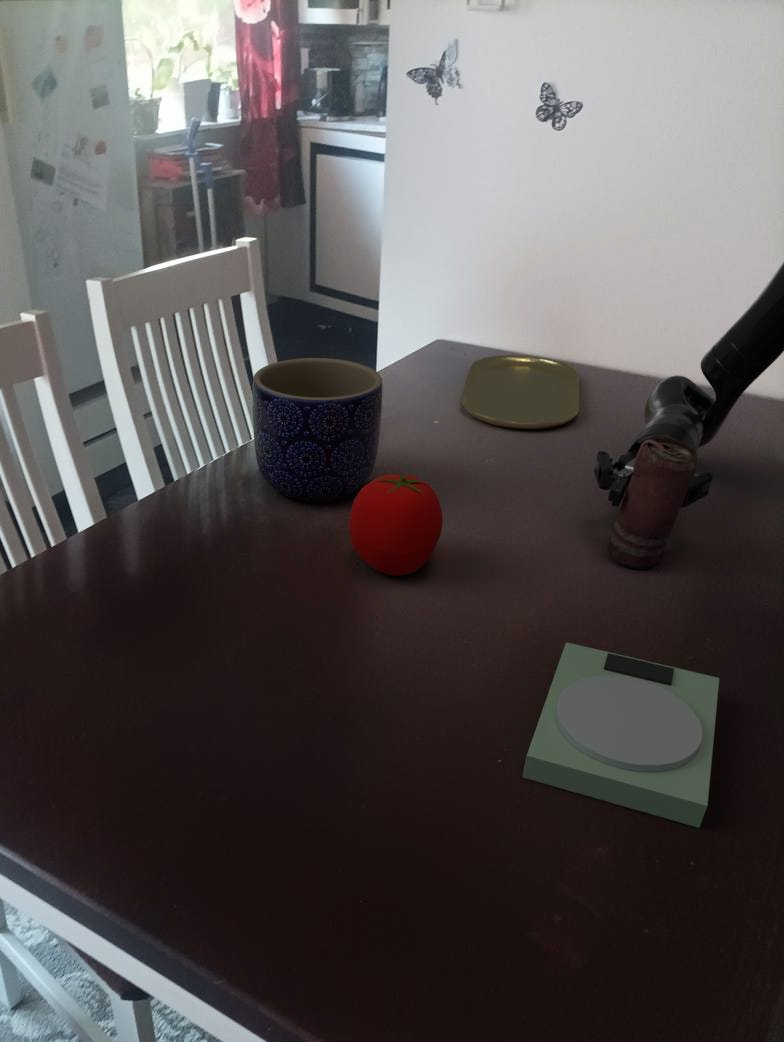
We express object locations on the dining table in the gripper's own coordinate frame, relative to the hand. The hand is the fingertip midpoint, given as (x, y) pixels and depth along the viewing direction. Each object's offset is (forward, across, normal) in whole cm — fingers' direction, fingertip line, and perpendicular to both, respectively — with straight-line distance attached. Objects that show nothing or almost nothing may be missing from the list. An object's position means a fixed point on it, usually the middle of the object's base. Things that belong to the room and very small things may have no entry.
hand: (635, 502), depth 100 cm
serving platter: (-51, -28, +8) cm, 59 cm away
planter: (-2, -41, +9) cm, 42 cm away
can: (-3, +1, +8) cm, 8 cm away
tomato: (+12, -23, +9) cm, 28 cm away
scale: (+31, +7, +8) cm, 32 cm away
